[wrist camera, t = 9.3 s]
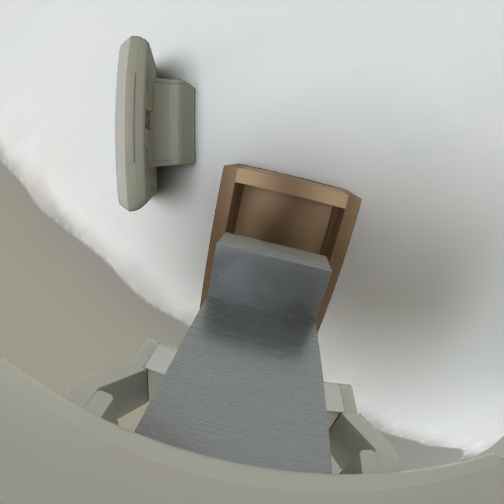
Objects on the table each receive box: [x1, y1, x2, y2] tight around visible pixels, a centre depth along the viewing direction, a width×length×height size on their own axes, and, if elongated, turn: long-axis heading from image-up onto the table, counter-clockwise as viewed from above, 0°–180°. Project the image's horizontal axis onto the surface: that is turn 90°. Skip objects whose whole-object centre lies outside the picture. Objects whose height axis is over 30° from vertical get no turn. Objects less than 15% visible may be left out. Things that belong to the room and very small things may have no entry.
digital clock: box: [115, 36, 195, 211], centre depth 21 cm, size 14×8×9 cm, turn 169°
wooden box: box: [200, 164, 362, 333], centre depth 24 cm, size 10×13×6 cm
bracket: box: [135, 232, 332, 474], centre depth 10 cm, size 5×8×10 cm, turn 168°
